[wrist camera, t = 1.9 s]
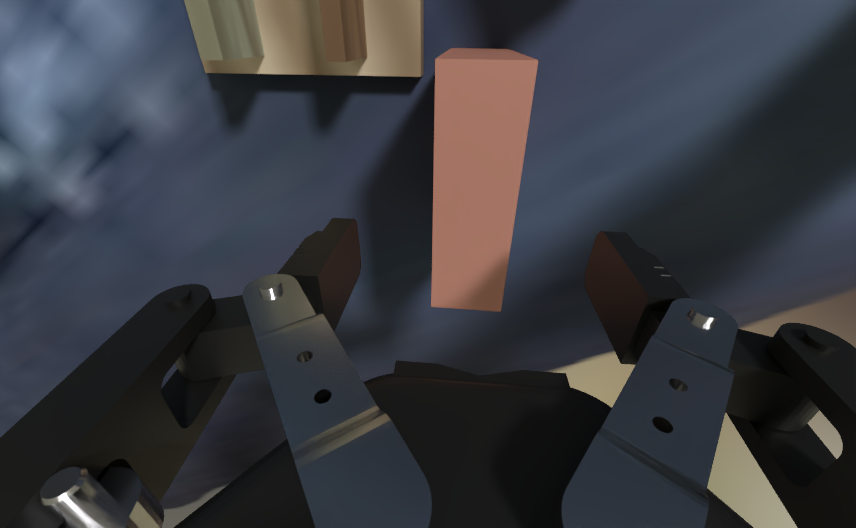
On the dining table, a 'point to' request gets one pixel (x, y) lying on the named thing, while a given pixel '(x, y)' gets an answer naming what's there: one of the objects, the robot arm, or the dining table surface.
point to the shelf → (309, 36)
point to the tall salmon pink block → (477, 171)
